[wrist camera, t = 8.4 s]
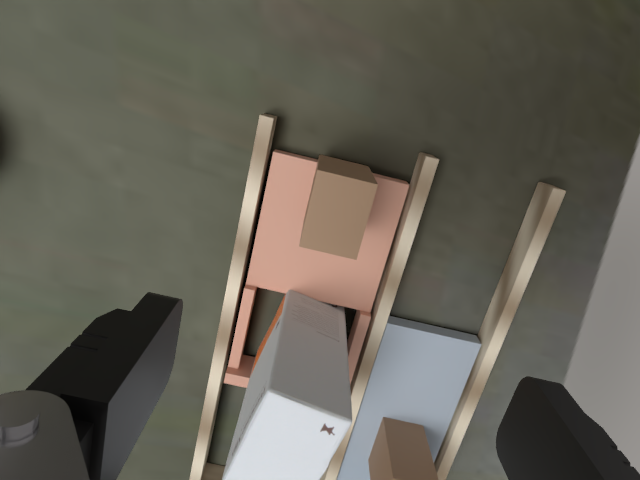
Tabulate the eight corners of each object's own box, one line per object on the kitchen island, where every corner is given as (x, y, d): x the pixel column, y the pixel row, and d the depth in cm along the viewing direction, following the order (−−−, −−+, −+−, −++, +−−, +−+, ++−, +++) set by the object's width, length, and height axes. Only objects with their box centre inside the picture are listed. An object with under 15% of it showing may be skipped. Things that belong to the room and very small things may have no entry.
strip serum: (277, 141, 28) (262, 156, 22) (408, 173, 29) (431, 197, 22) (231, 361, 33) (208, 426, 27) (344, 386, 34) (347, 455, 27)
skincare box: (289, 279, 31) (268, 386, 20) (345, 304, 32) (357, 422, 20) (254, 351, 33) (216, 488, 21) (308, 374, 33) (300, 519, 22)
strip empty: (385, 314, 32) (399, 371, 25) (476, 335, 32) (512, 396, 26) (330, 485, 36) (331, 569, 30) (410, 501, 37) (427, 588, 30)
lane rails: (264, 113, 28) (259, 115, 26) (550, 184, 29) (566, 191, 27) (194, 468, 36) (187, 489, 34) (417, 513, 37) (422, 535, 36)
